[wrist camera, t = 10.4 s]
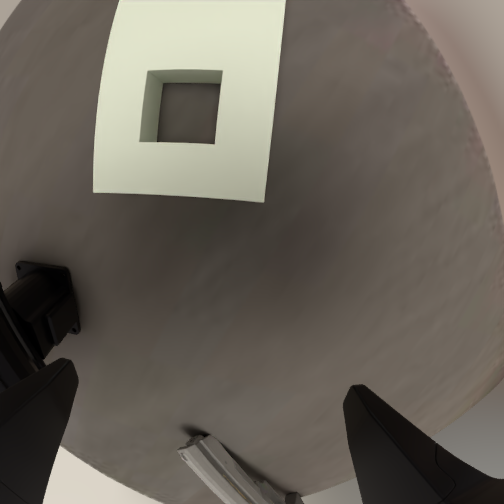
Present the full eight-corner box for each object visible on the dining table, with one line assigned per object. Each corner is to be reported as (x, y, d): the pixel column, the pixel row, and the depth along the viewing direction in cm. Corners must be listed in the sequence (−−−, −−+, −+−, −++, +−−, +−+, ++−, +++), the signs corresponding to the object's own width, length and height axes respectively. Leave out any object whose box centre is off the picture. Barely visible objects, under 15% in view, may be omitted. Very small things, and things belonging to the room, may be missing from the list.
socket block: (259, 193, 19) (263, 202, 15) (115, 184, 18) (93, 192, 15) (285, -46, 12) (292, -71, 9) (157, -47, 11) (146, -69, 8)
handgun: (205, 392, 38) (167, 455, 23) (223, 385, 37) (190, 451, 22) (294, 505, 37) (291, 563, 22) (310, 501, 36) (309, 560, 22)
